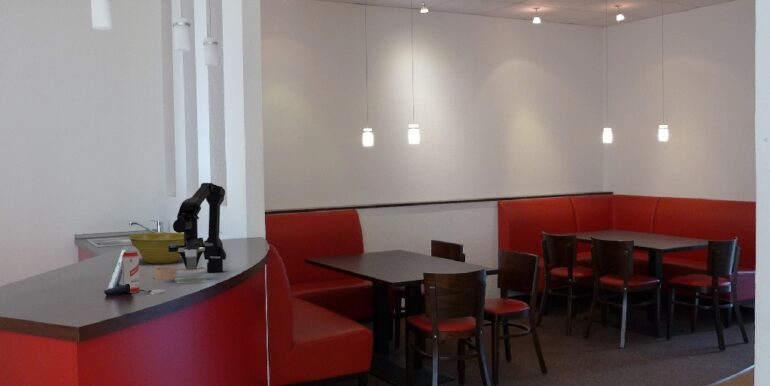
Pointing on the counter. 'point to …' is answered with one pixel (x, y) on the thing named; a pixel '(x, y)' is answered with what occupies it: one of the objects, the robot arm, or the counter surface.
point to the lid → (191, 266)
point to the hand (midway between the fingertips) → (191, 267)
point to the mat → (191, 280)
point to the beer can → (130, 270)
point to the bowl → (164, 273)
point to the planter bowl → (157, 246)
